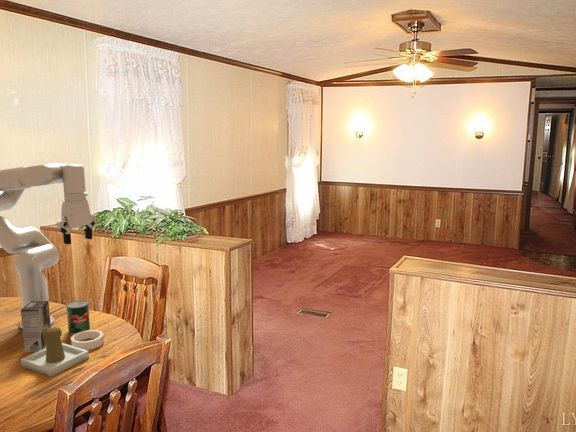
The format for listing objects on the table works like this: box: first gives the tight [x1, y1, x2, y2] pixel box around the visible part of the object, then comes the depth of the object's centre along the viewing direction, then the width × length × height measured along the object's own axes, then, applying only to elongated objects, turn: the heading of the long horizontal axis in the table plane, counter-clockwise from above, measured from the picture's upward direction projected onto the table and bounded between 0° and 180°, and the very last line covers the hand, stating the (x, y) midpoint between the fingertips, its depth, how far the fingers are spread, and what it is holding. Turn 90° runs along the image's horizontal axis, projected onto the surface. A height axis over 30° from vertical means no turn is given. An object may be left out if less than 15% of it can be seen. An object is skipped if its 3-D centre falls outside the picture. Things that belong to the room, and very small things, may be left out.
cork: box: [45, 326, 65, 363], centre depth 164 cm, size 6×6×11 cm
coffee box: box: [20, 300, 52, 353], centre depth 175 cm, size 9×6×16 cm
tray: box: [20, 342, 90, 377], centre depth 165 cm, size 15×15×2 cm
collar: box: [70, 329, 105, 351], centre depth 179 cm, size 11×11×3 cm
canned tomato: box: [66, 300, 91, 335], centre depth 190 cm, size 8×8×11 cm
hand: (78, 241), depth 185 cm, fingers open, 9 cm apart
